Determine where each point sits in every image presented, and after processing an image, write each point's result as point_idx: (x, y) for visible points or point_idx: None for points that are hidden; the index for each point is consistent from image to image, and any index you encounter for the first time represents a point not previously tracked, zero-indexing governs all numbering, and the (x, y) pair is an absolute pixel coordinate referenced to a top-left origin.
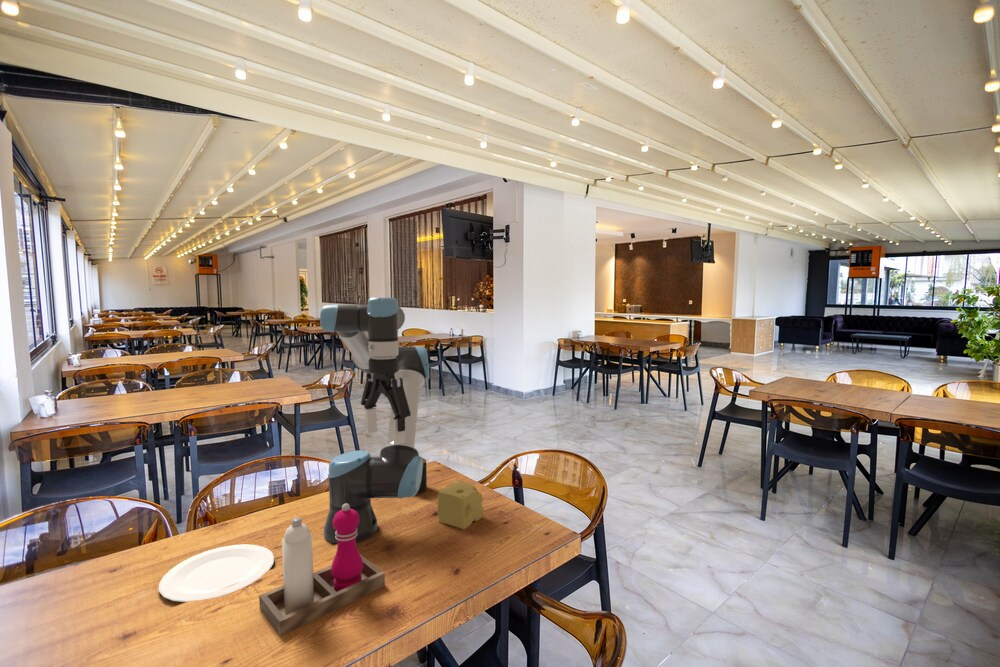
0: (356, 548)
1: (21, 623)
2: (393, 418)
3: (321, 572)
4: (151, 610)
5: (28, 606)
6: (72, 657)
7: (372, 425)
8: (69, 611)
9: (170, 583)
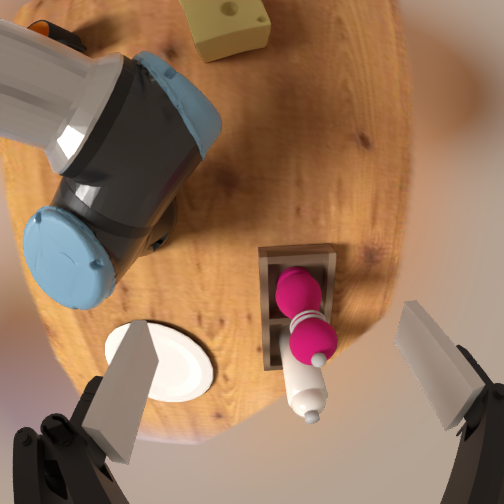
0: (313, 300)
1: (160, 439)
2: (456, 435)
3: (268, 314)
4: (191, 404)
5: (139, 434)
6: (222, 431)
7: (142, 367)
8: (159, 427)
9: (161, 396)
